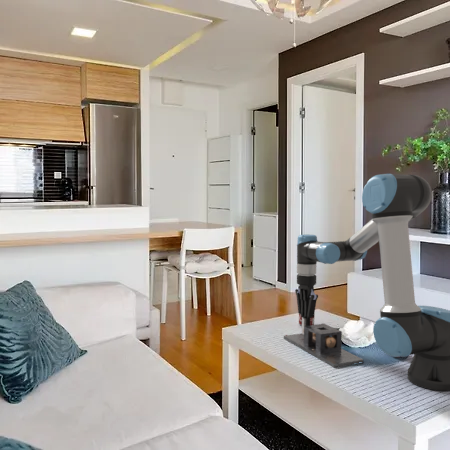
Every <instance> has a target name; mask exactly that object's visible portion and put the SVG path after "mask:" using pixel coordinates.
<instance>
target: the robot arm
mask: <svg viewBox="0 0 450 450" xmlns="http://www.w3.org/2000/svg"><path fill="white" fill-rule="evenodd" d="M432 196H433V193H432V188H431V185H430V184H429V182H428V181H427V180H426V179H424V178H423V177H422V176H419V175H416V174H400V173H398V174H396V173H382V174H380V173H379V174H376V175H373V176H371V178H369V180H367V182H366V184H365V185H364V187H363V189H362V195H361V203H362V205H363V208H365V210H366V211H367V212H368V213H370V214H371V219H369V221H368V222H367V223H365V225H364V226H362V227H361V228H360V229H359V230H357V232H355V233H354V234H353V235H352V236H350V237H349V238H347V240H343V241H339V240H338V241H318V237H317V235H315V234H299V235H298V236H297V244H296V261H297V262H296V273H297V275H296V284H297V285H298V288H296V289H295V291H294V292H295V295H296V303H297V311H298V315H299V314H301V317H302V326H301V333H302V334H303V335H304V332H303V330H304V326H310V318H312V317H314V318H315V315H314V313H315V311H316V305H317V300H318V298H319V295H318V294H316V293H315V288H314V286H315V285H317V263H322V264H324V265H325V264H326V265H327V264H328V265H333V264H335V263H337V262H339V263H340V262H350V261H352V262H355V261H359V260H363V259H365V258H366V257H367V253H368V250H369V249H371V248H372V247H373V246H375V245H376V244H377V243H378V245H379V253H380V254H379V255H380V263H381V264H380V265H381V267H380V268H381V275H382V285H383V288H382V290H383V300H384V304H383V306H382V307H381V308H380V309H379V314H380V317H379V318H378V319H377V320H375V323H374V324H373V328H372V330H373V331H372V334H373V337H374V340H375V342H376V344H377V346H378V348H380V349H381V351H382V352H383V353H384V354H385V355H387V356H390V357H393V358H401V357H408V356H412V355H413V357H412V359H411V362H410V365H409V367H408V370H407V379H408V381H409V382H410V383H412V384H414V385H415V386H419V387H421V388H424V389H428V390H432V391H440V392H442V391H443V392H444V391H445V392H446V391H447V392H448V391H450V310H449V309H446V308H441V307H438V306H437V307H436V306H429V305H418V304H416V299H415V297H416V296H415V288H414V276H413V265H412V254H411V243H410V233H409V223H410V221H411V220H414V219H416V218H417V217H418V216H420V214H421V213H423V212H424V211H425V210H426V209H427V208H428V206H429V205H430V203H431V201H432ZM400 356H401V357H400Z"/></svg>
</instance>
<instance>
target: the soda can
mask: <svg viewBox="0 0 450 450" xmlns="http://www.w3.org/2000/svg"><path fill="white" fill-rule="evenodd" d="M298 325H300V326H301V327H302V317H301V314H299V313H298ZM310 325H315V313H314V317H312V318H310Z"/></svg>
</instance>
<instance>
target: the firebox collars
mask: <svg viewBox="0 0 450 450" xmlns="http://www.w3.org/2000/svg"><path fill="white" fill-rule="evenodd" d="M313 333H315V334H316V340H314V339H313ZM342 334H343V331H342V330H340V329H336V328H334V327H332V326H330V325H328V324H326V323H321V324H318V323H317V324H314V325H310V326H304V335H303V334H302V332H301V333H295V334H287V335H283V340H285V341H287V342H289V343H290V344H292V345H294V346H295V347H297V348H299V349H300V350H303V351H305V353H308V354H309V355H310V356H311V355H312V356H313V357H315V358H317V359H318V360H320V361H322V362H323V363H325V364H327V365H328V366H331V367H333V369H335V368H336V369H337V368H343V367H347V366H353V365H352V364H354V363H359V362H363V363H364V359H363V358H361V357H359V356H357V355H355V354H353V353H351V352H349V351H347V350H345V349H343V348H342ZM325 336H330V337H332V338H334V339H335V340H336V344H335V346H334V347H332V348H330V347H328V346H326V345H325Z"/></svg>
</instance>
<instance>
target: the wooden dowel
mask: <svg viewBox="0 0 450 450" xmlns="http://www.w3.org/2000/svg"><path fill="white" fill-rule="evenodd" d="M303 332H304V330H303ZM313 339H314V340H316V334H315V333H313ZM335 344H336V340H335V339H334V338H332V336H325V345H326V346H328V347H330V348H332V347H334V346H335Z"/></svg>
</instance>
